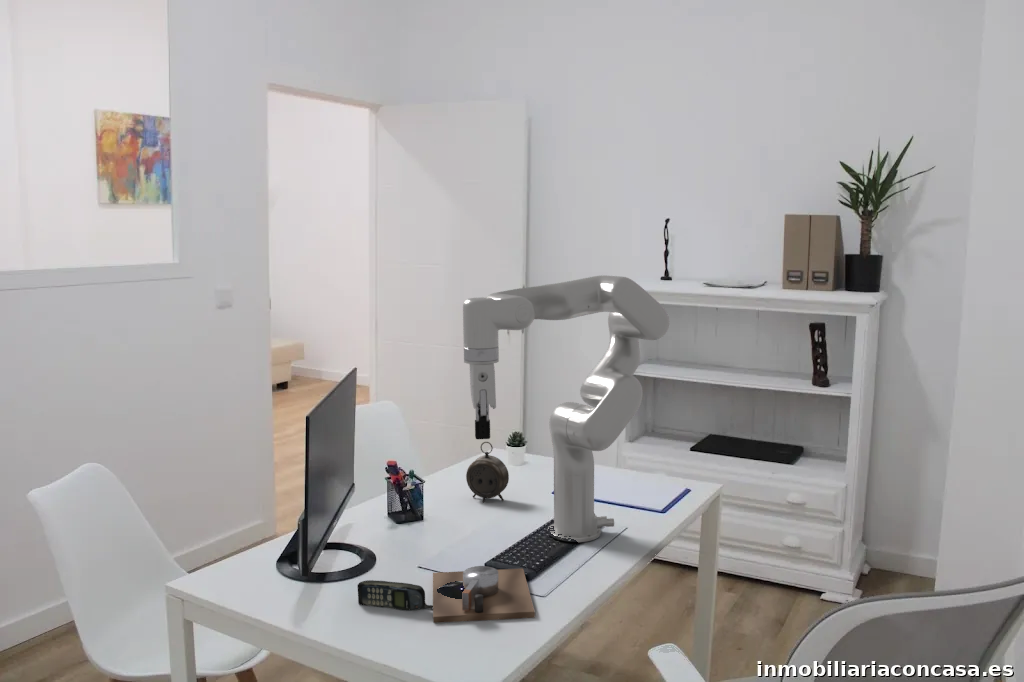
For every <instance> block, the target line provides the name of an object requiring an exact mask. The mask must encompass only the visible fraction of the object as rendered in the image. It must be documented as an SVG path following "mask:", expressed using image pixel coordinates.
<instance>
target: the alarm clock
mask: <svg viewBox="0 0 1024 682" xmlns="http://www.w3.org/2000/svg"><path fill="white" fill-rule="evenodd" d="M484 444H489V445H490V447H491V449H490V451H484V450H483V447H482V446H483V445H484ZM493 449H494V447H493V444H492V443H491V442H490V441H484V442H482V443H481V444H480V451H481V452H482V453H483V454H484V455H482V456H479V457H478V458H476V459H475V460H474V461H472V462H471V464H470V465H469V466H468V468H467V469H466V475H465V478H466V479H465V480H466V483H467V486H468V488H469V489H470V491H471V492H472V493H473V495H472V498H473V499H474V498H475V497H476V496H477V497H479V498H482V503H483V504H485V503H486V500H487V499H494V498H496V497H497V496H498V498H499V499H501V502H504V501H505V499H504V498H503V496H502V495H501V493H502V492H503V491H504V490H505V489H506V488H507V486H508V484H509V480H510V479H509V478H510V475H509V470H508V469H507V467H506V464H505V463H504V462H503V461H502V460H501V459H500V458H498V457H497V456H494V455H491V454H490V453H492V452H493ZM489 454H490V455H489Z"/></svg>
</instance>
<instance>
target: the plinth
mask: <svg viewBox="0 0 1024 682" xmlns="http://www.w3.org/2000/svg"><path fill="white" fill-rule="evenodd" d="M497 570H498V583H499V589H498V591H497V592H496V593H495V594H492V595H489V596H483V595H481V594H477V595H475V596H474V597H475V603H474V604H473V605H472V608H471V609H470V610H469V611H463V610H462V599H455V598H450V597H447V596H444V595H442V594H441V593H438V592H437V589H439V588H440V587H442V586H443V585H445V584H447V583H450V582H455V581H463V572H464V571H465V570H464V571H463V570H462V571H446V572H445V571H444V572H443V571H441V572H440V571H439V572H432V605H433V608H432V619H433V620H432V623H433V624H438V623H457V622H458V623H459V622H460V623H461V622H474V621H475V622H478V621H495V620H497V621H498V620H513V619H514V620H515V619H531V618H532V619H534V618H535V617H536V614H535V613H536V612H535V608H534V605H533V604H534V603H533V600H532V597H531V592H530V589H529V585H528V582H527V581H528V580H527V579H526V574H525V570H524V568H507V569H497Z"/></svg>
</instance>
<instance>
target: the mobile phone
mask: <svg viewBox="0 0 1024 682" xmlns="http://www.w3.org/2000/svg"><path fill="white" fill-rule="evenodd" d="M357 596H358V597H357V599H358V600H357V601H358V605H360V606H366V607H374V608H375V607H376V608H383V609H390V610H392V609H393V610H397V611H415V610H416V611H417V610H421V609H430V610H433V604H427V603H426V591H425V589H424V588H423V587H422V586H421V585H418V584H413V583H408V582H399V581H398V582H397V581H386V580H373V579H372V580H371V579H369V580H363V581H360V582H359V583H357Z"/></svg>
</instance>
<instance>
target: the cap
mask: <svg viewBox="0 0 1024 682" xmlns="http://www.w3.org/2000/svg"><path fill="white" fill-rule="evenodd" d="M498 570H499V569H497V568H494V567H492V566H488V565H487V566H486V565H477V566H472V567H468V568H466V569H464V572H463V586H464V588H465V589H464V591H463V592H462V610H463V611H469V610H470V609H471V608H472V605H473V604H474V603H475V597H474V596H475V595H477V594H481V595H483V596H489V595H492V594H495V593H496V592H497V591H498V589H499V583H498Z"/></svg>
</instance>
